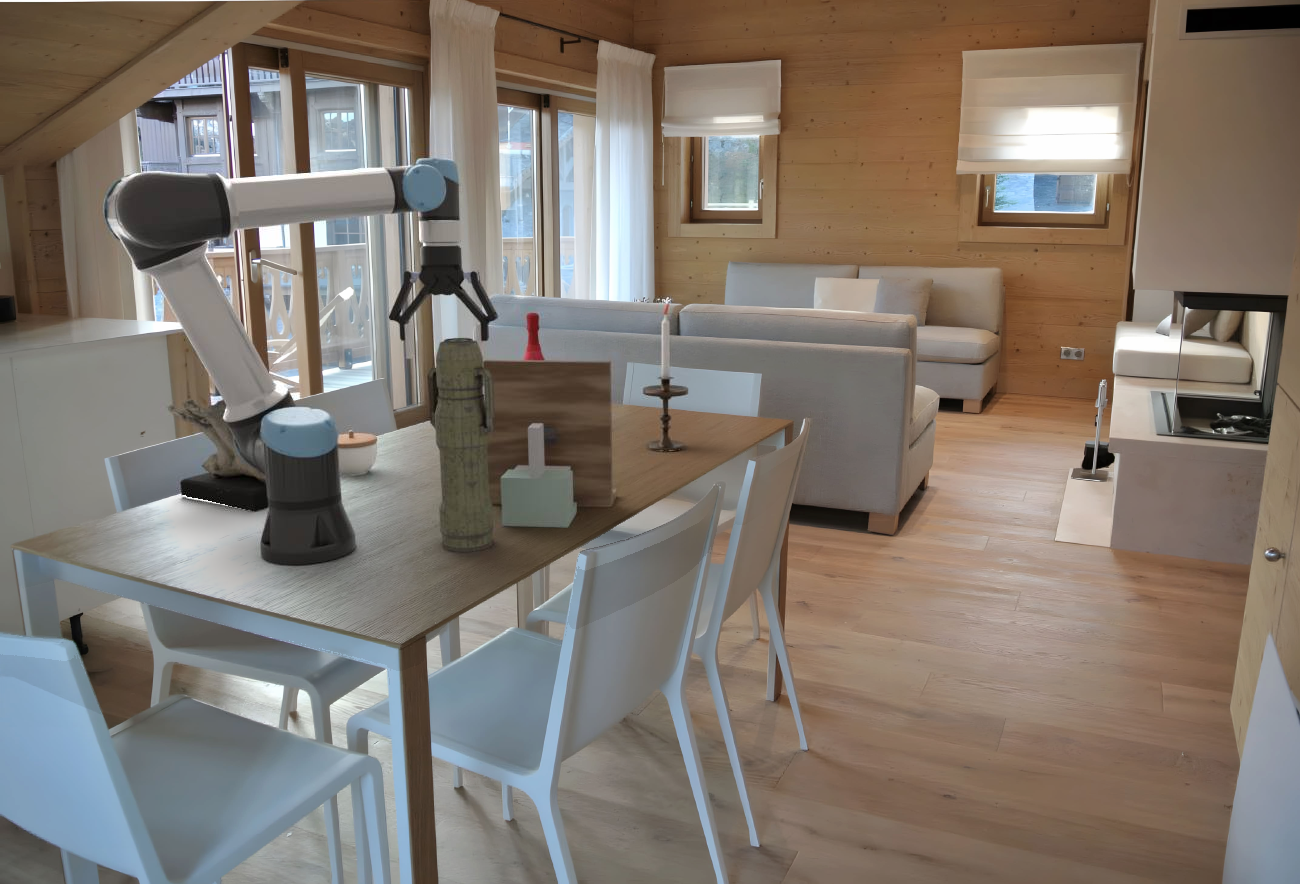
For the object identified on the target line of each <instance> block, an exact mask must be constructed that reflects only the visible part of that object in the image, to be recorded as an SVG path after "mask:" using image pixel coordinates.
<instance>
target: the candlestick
mask: <svg viewBox="0 0 1300 884" xmlns="http://www.w3.org/2000/svg"><path fill="white" fill-rule="evenodd" d="M669 304H670V302H669V301H668V302H667V304H666V305H665V309H664V310H663V314H664V316H663V317H664V318H663V320H662V321H661V376H658V377H657V379H658V380H660V383H661V384H660V385H659V384H656V385H648V386H645V387H643V388H642V394H643V395H645V396H647V397H648V396H649V397H655V398H656V397H658V398H659V399H660V400H662V414H660V415H659V419H660V421H661V423H662V425H661V426H660V429H662V436H661V438H660V439H658V440H657V439H656V440H651V441H648V442H647V443H646V448H647V447H648V448H649V449H652V450H663V451H669V450H679V449H682V448H684V449H685V443H684V442H683V441H680V440H675V439H674V440H672V439H671V438H670V436H669V429H671V428H672V427H671V426H670V425H669V424H670V421H671V419H672V415H671V414H669V400H671V399H672V398H675V397H682V396H687V395H688V394H689V387H687V386H682V385H676V384H671V383H670V382H671V380H672V379H674V377H673V376H670V321H669V320H668V316H667V315H668V311H669V306H670V305H669ZM649 449H648V450H649ZM652 450H651V451H652ZM679 451H680V450H679Z"/></svg>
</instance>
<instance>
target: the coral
mask: <svg viewBox="0 0 1300 884" xmlns="http://www.w3.org/2000/svg"><path fill="white" fill-rule="evenodd" d="M182 406H183V407H184V408H185V410H179V409H178V408H175V407H174V405H173V404H170V405H167V407H166V408H167V410H168V411H169V412H170V413H171V414H172V415H173V416H175V417H177V418H178V419H180V421H183V422H187V423H188V424H189V425H190V426H193V427H194V428H195V429H197V430H199V431H200V432H202V433H203V434H204V435H205V436H206V437H207V438H208V439H209V440H210V441H211V442H212V443H213V444H214V446H215V448H216V449H217V453H212V454H211V455H210V456H209V457H208V459H206V460H205V461H204V462H203V463H202V464H201V467H202V468H203V470H205V471H207V472H206V473H205V472H204V473H202V474H197V475H193V476H190V477H187V478H186V477H185V478H183V479H181V480H180V483H179V484H180V493H181V496H182V495H186V496H187V497H192V498H198V499H203V500H208V501H212V502H216V503H220V504H225V505H228V506H232V507H237V508H241V509H240V510H242V509H245V510H244V511H248V510H250V512H253V511H254V513H255V512H259V511H262V510H263V511H264V510H265V509H268V499H267V488H266V477H265V474H264V473H262V472H261V471H259V470H257V469H255V468H253V467H251V466H250V465H249V464H247V463H246V462H245V461H244V460H243V459H242V458H241V456H240V455H239V453H238V452H237V450H236V447H235V444H234V440H233V435H232V433H231V431H230V429H229V428H228V426H227V424H226V422H225V421H224V419H223V416H224V413H225V410H226V404H225V402H224V400H223V399H221V400H218V401H217V402H216V403H215V404H210V405H208V406H207V407H206V408H204V407H202V406H200V405H198V404H197V403H196V402H195V400H194V399H187V400H186V401H184V402H182ZM232 507H231V508H232ZM237 508H236V509H237Z"/></svg>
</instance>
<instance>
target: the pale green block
mask: <svg viewBox="0 0 1300 884" xmlns="http://www.w3.org/2000/svg"><path fill="white" fill-rule="evenodd" d="M528 453H529V465H518V466H517V467H516V468H515V469H514V470H508V471H507V472H506V473H505V474H504V475H503V476H502V477H501V502H502V505H501V519H502V520H501V521H502V523H501V524H502V525H501V526H503V527H532V528H533V527H536V528H569V526H570V525H571V523H572V522H573V520H574V518H575V516H576V514H577V513H578V512H577V510H578V509H577V508H578V506H577V502H573V471H571V466H545V463H544V428H543V423H532V424H531V425H530V426H529V427H528Z"/></svg>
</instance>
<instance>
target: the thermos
mask: <svg viewBox="0 0 1300 884" xmlns="http://www.w3.org/2000/svg"><path fill="white" fill-rule="evenodd" d="M435 355H436V356H435V367H432V368H430V370H429V372H428V374H427V376H426V377H427V388H428V402H429V419H430V421H429V423H430V424H431V425H432V427H433V428H434V429H435V443H436V446H437V448H438V450H439V465H440V468H439V469H440V485H441V500H440V501H441V502H440V505H439V508H438V511H439V514H438V515H439V530H440V531H439V532H440V533H441V546H442V549H445V550H447V551H450V552H456V553H471V552H478V551H482V550H483V551H484V550H485V549H488V548H490V547H491V546H493V545H494V537H493V531H494V528H495V527H494V504H492V503H491V500H490V498H489V480H488V455H487V447H488V445H489V442H490V434H489V432H492V431H494V419H495V415H494V389H493V376H492V375H491V373H490V372H489V370H488V369H485V368H484V367H483V361H484V358H483V357H482V354H481V351H480V348H479V345H478V343H477V340H474V339H473V338H468V337H453V338H446V339H443V341H440V342H439V344H438V348H437V352H436V354H435ZM484 379H485V393H484ZM485 400H486V404H485Z"/></svg>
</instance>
